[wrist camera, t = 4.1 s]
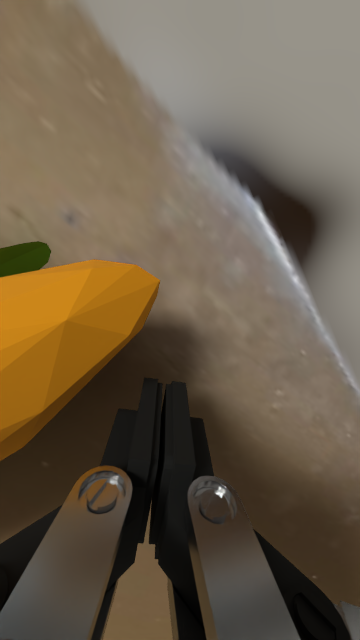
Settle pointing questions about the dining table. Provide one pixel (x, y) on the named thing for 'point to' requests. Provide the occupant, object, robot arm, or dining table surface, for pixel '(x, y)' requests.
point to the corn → (60, 331)
